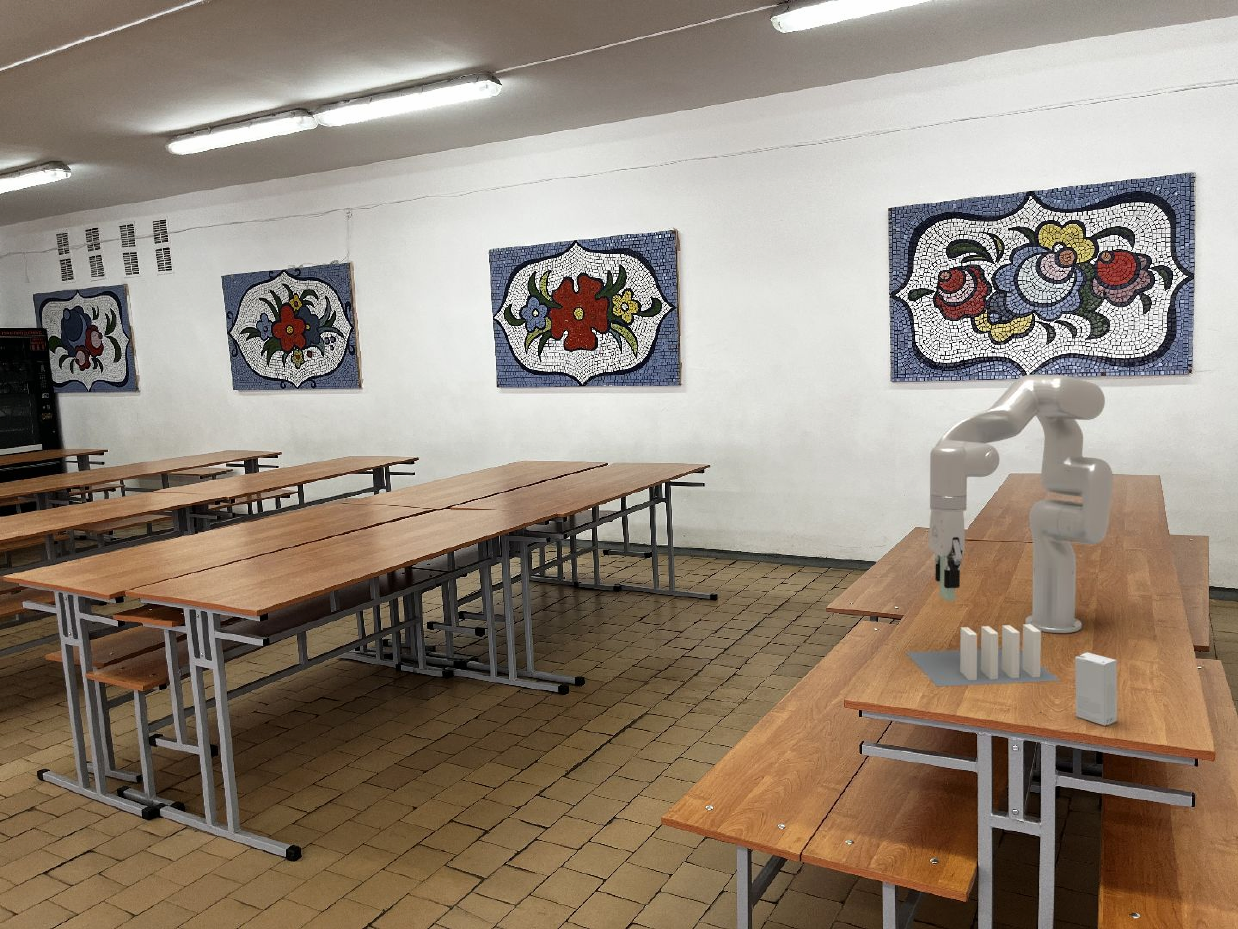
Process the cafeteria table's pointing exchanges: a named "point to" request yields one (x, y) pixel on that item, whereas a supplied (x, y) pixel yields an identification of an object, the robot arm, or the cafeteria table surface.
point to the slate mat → (947, 669)
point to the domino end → (944, 592)
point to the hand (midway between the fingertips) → (947, 583)
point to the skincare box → (1096, 688)
